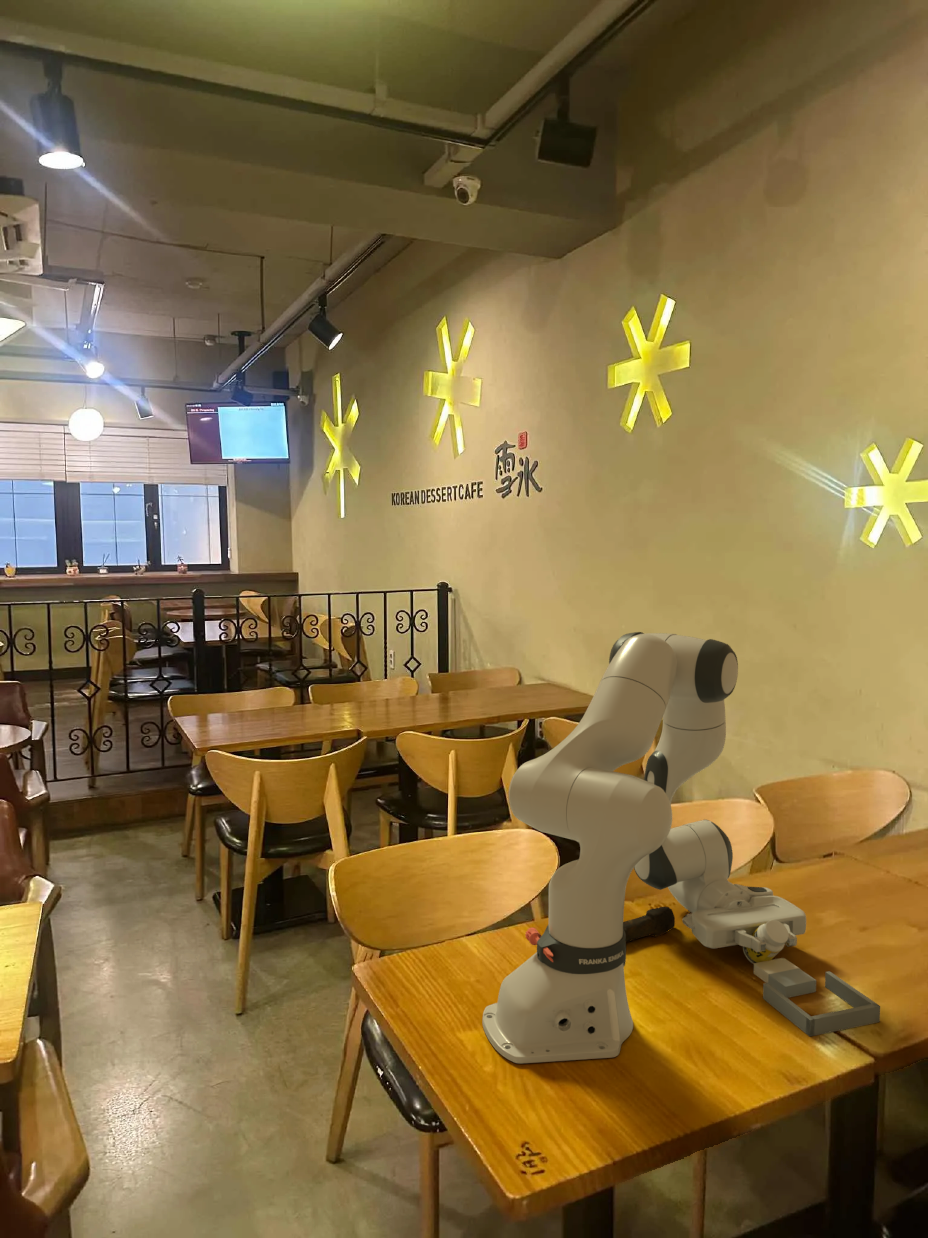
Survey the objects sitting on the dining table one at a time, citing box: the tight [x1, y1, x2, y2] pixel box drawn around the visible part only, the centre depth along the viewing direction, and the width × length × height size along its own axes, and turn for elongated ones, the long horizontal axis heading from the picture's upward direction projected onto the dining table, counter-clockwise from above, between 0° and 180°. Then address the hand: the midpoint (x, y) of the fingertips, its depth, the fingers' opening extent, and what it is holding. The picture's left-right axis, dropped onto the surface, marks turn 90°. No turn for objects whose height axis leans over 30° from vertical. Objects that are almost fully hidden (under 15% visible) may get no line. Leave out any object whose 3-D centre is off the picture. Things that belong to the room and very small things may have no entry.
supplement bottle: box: [742, 920, 789, 965], centre depth 139 cm, size 5×5×8 cm
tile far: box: [753, 957, 801, 983], centre depth 138 cm, size 6×4×2 cm, turn 109°
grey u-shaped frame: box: [762, 970, 881, 1037], centre depth 127 cm, size 13×11×2 cm
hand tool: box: [623, 906, 676, 943], centre depth 150 cm, size 19×4×5 cm, turn 116°
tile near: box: [768, 967, 817, 999], centre depth 134 cm, size 6×4×2 cm, turn 109°
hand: (777, 944), depth 137 cm, fingers closed on supplement bottle, 5 cm apart
